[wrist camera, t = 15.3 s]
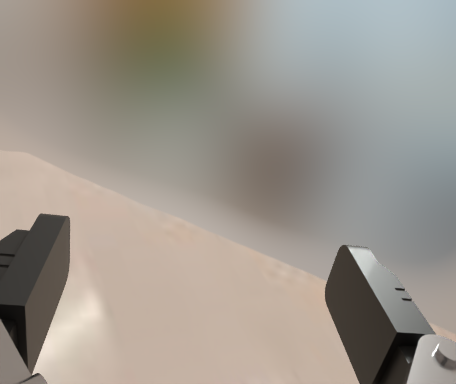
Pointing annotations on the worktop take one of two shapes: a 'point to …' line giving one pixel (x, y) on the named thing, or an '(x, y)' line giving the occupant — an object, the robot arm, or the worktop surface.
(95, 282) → the worktop surface
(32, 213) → the worktop surface
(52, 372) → the worktop surface
